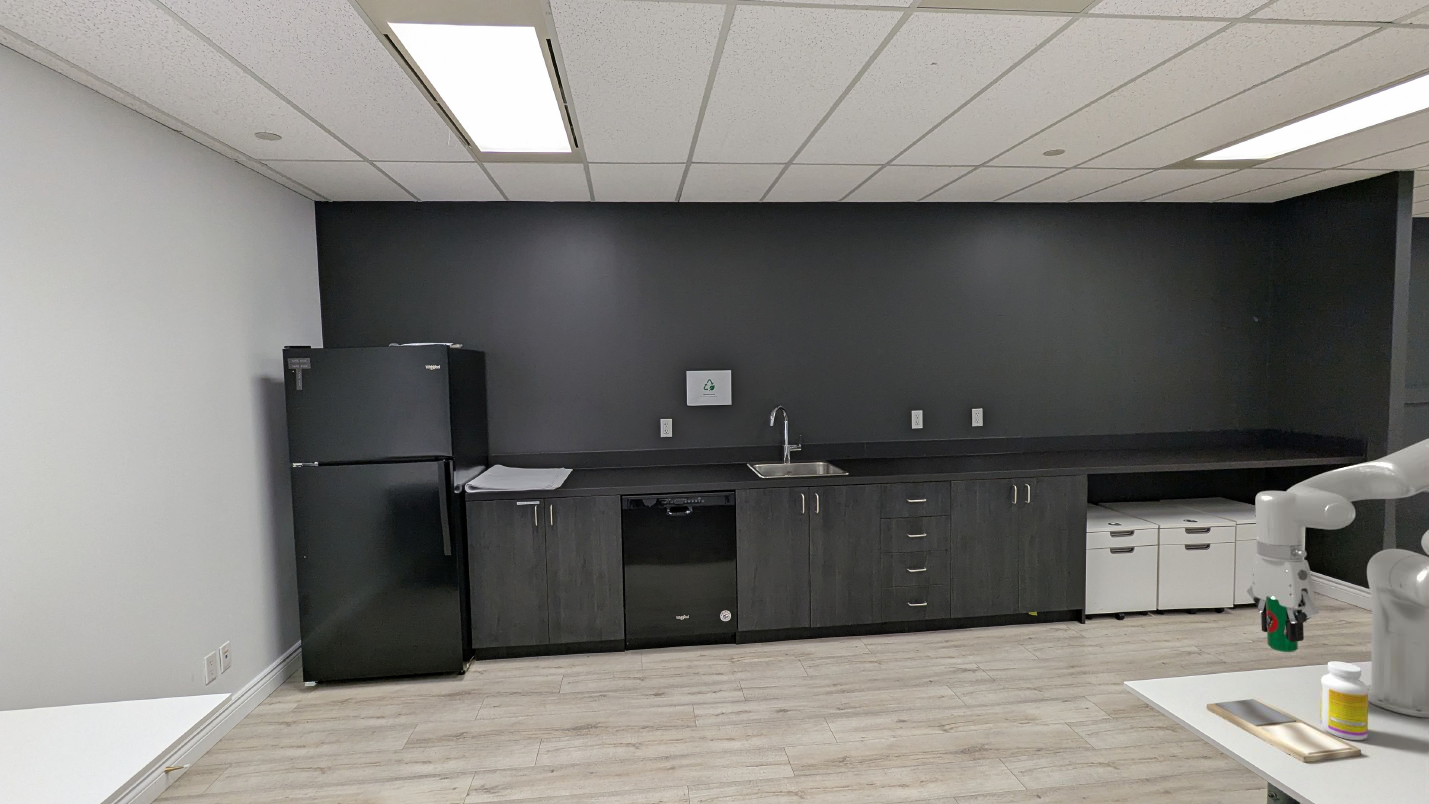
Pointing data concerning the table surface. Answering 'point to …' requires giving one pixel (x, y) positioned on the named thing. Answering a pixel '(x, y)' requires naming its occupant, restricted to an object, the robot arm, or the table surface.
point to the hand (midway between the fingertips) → (1282, 634)
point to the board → (1283, 730)
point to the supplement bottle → (1344, 702)
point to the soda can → (1278, 626)
